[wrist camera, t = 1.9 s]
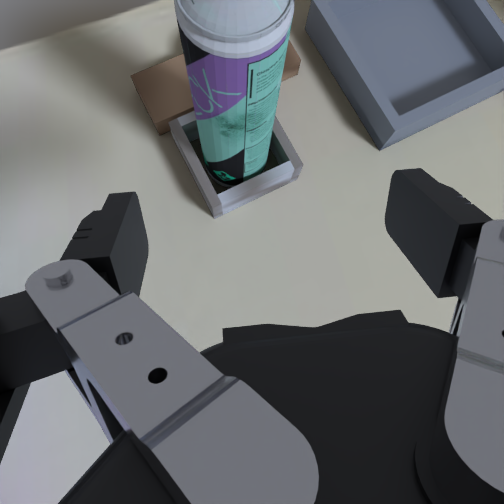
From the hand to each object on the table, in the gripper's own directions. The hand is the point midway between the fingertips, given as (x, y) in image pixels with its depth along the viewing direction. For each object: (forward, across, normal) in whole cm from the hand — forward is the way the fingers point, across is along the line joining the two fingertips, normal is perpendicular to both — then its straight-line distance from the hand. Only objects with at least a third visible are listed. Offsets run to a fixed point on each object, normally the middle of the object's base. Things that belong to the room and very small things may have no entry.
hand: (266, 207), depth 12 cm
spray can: (+22, 0, +7) cm, 23 cm away
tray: (+28, -17, 0) cm, 33 cm away
